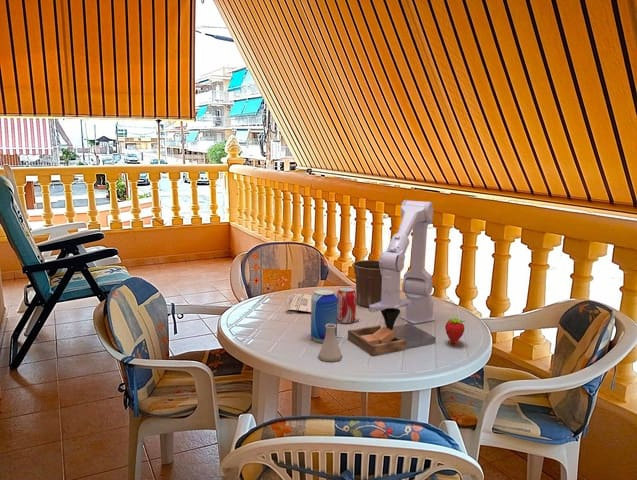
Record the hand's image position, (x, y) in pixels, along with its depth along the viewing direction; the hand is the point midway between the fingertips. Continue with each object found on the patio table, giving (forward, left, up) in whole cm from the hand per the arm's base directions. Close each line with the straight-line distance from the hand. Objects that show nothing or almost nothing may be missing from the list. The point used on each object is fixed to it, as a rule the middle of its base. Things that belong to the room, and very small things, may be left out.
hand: (389, 330), depth 164 cm
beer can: (+18, -11, -4) cm, 21 cm away
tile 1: (+7, -1, -4) cm, 8 cm away
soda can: (+3, -23, -4) cm, 24 cm away
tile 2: (+2, 0, -3) cm, 3 cm away
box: (+4, 0, -4) cm, 6 cm away
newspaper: (+10, -47, -5) cm, 48 cm away
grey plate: (-7, 0, -4) cm, 8 cm away
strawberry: (-18, +10, -4) cm, 21 cm away
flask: (+23, +3, -4) cm, 23 cm away
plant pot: (-17, -37, -4) cm, 41 cm away
